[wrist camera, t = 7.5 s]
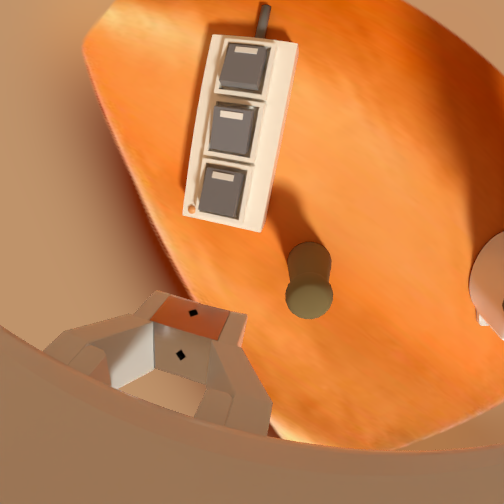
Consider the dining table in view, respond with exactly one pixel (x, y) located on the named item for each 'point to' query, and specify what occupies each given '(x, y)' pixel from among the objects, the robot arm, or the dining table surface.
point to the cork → (309, 281)
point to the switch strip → (262, 135)
